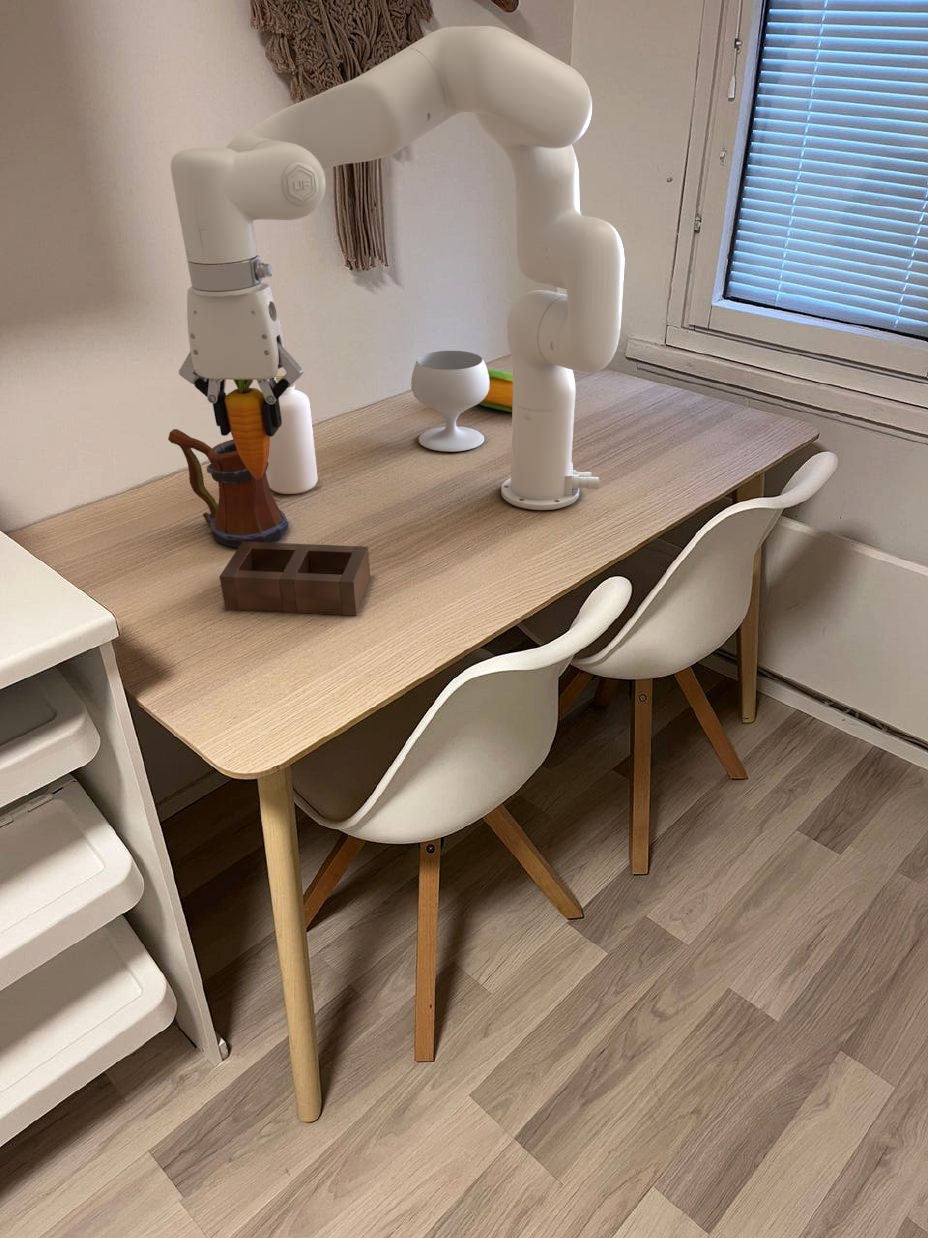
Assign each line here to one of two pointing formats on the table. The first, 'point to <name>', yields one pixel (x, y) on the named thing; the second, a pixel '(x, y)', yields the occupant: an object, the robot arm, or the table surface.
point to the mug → (233, 494)
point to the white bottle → (292, 446)
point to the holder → (296, 578)
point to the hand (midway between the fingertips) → (250, 430)
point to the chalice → (450, 395)
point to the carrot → (248, 426)
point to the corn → (499, 391)
